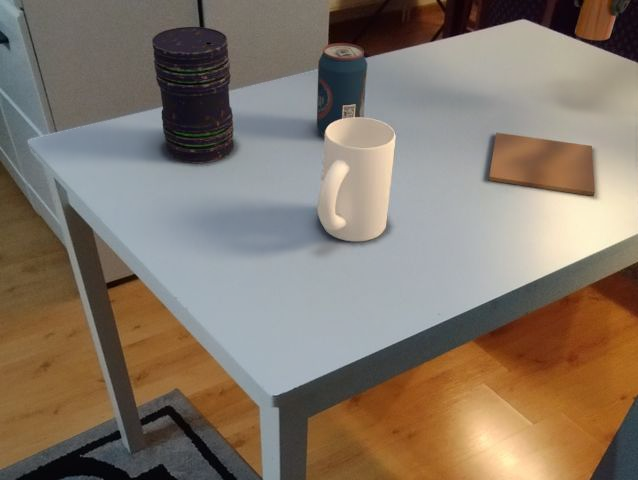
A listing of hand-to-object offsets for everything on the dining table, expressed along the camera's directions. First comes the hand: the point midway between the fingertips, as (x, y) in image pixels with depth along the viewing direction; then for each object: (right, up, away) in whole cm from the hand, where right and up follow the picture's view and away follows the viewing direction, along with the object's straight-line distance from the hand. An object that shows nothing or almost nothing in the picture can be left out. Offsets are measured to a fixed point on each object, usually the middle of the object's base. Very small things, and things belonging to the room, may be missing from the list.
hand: (594, 7), depth 100 cm
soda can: (-38, -18, +3) cm, 41 cm away
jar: (+1, -2, +4) cm, 5 cm away
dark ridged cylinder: (-58, -21, -2) cm, 62 cm away
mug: (-37, -36, -17) cm, 54 cm away
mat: (-9, -24, -3) cm, 26 cm away
